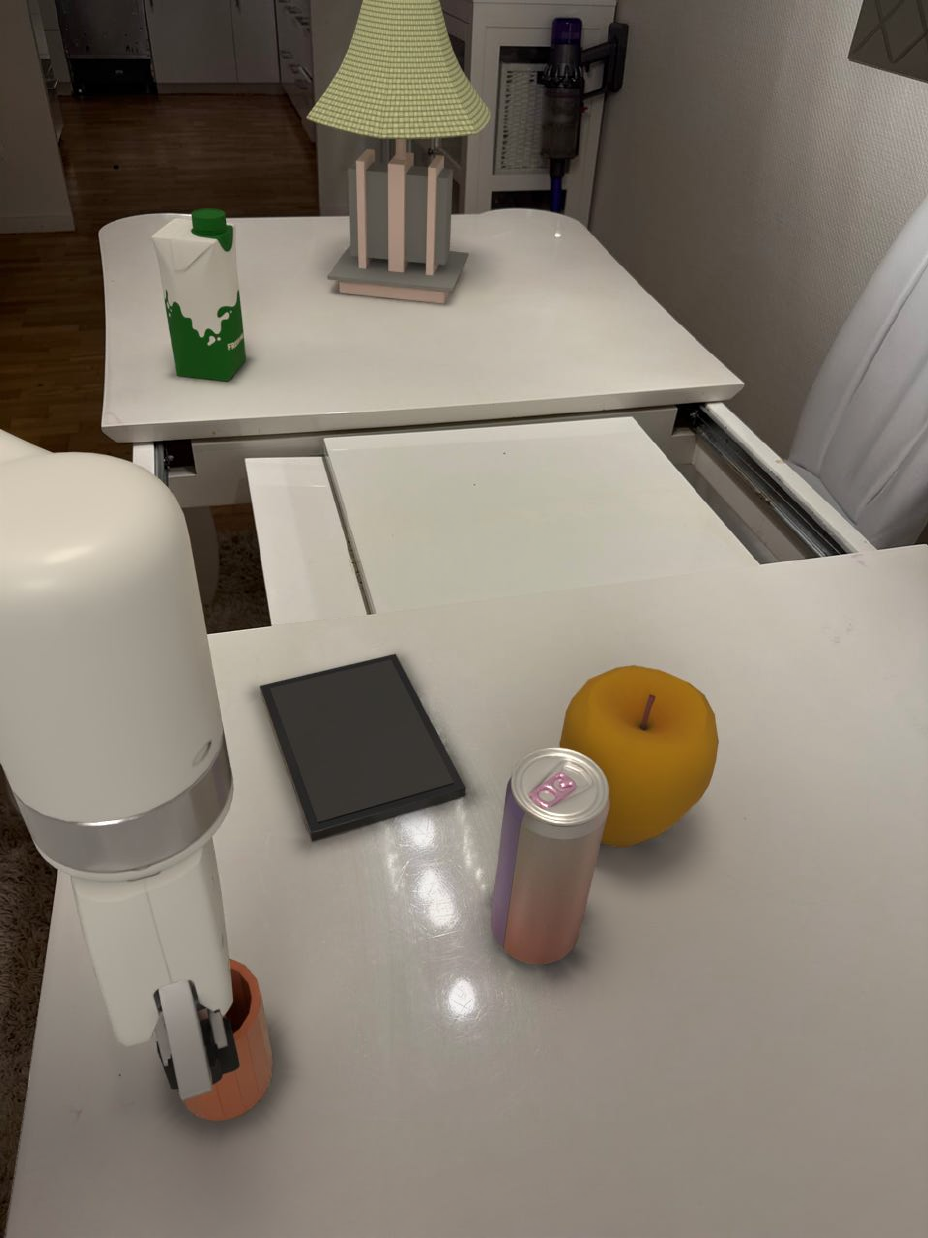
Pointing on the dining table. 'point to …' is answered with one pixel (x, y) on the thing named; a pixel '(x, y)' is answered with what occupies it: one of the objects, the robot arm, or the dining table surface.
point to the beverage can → (547, 853)
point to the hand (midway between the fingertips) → (195, 1010)
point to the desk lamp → (400, 149)
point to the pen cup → (240, 1054)
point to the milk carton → (202, 294)
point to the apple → (644, 747)
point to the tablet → (358, 746)
